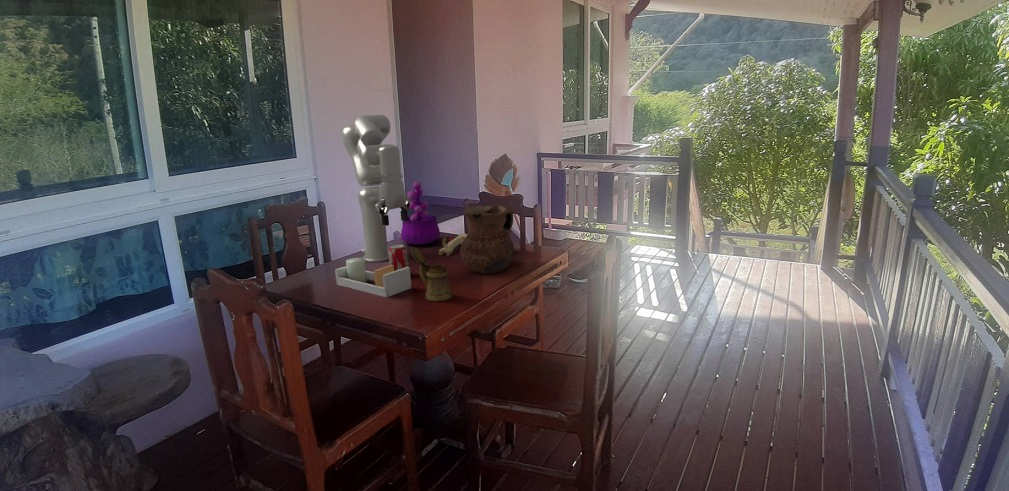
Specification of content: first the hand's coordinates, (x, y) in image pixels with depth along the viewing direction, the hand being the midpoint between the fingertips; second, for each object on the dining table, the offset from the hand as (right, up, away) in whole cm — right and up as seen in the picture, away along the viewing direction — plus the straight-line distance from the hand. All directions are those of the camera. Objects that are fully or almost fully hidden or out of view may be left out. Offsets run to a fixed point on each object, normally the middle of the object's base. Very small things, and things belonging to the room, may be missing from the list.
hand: (395, 223), depth 227 cm
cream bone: (+20, -11, +45) cm, 50 cm away
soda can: (+1, -21, +6) cm, 22 cm away
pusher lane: (-6, -24, -8) cm, 26 cm away
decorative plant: (+2, -8, +57) cm, 57 cm away
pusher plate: (-1, -24, -12) cm, 27 cm away
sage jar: (-14, -23, -2) cm, 27 cm away
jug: (+36, -18, +10) cm, 41 cm away
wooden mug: (+17, -27, -21) cm, 39 cm away
